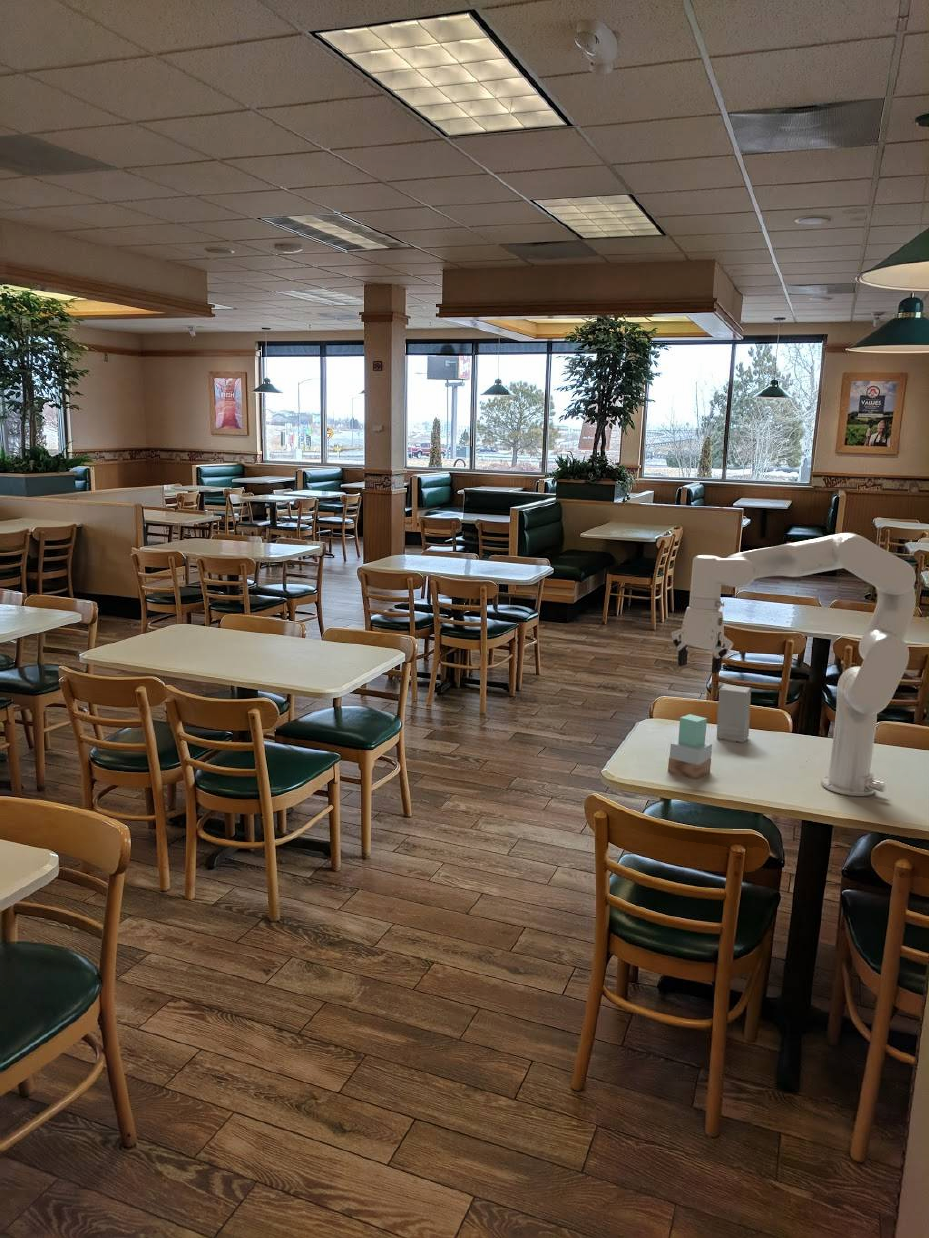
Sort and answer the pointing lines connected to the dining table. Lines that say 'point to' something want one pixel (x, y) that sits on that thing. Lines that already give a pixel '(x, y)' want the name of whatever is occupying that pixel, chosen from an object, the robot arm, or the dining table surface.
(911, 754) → the dining table surface
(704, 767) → the tower base
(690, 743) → the block
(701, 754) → the tower top
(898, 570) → the robot arm
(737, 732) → the skincare box
